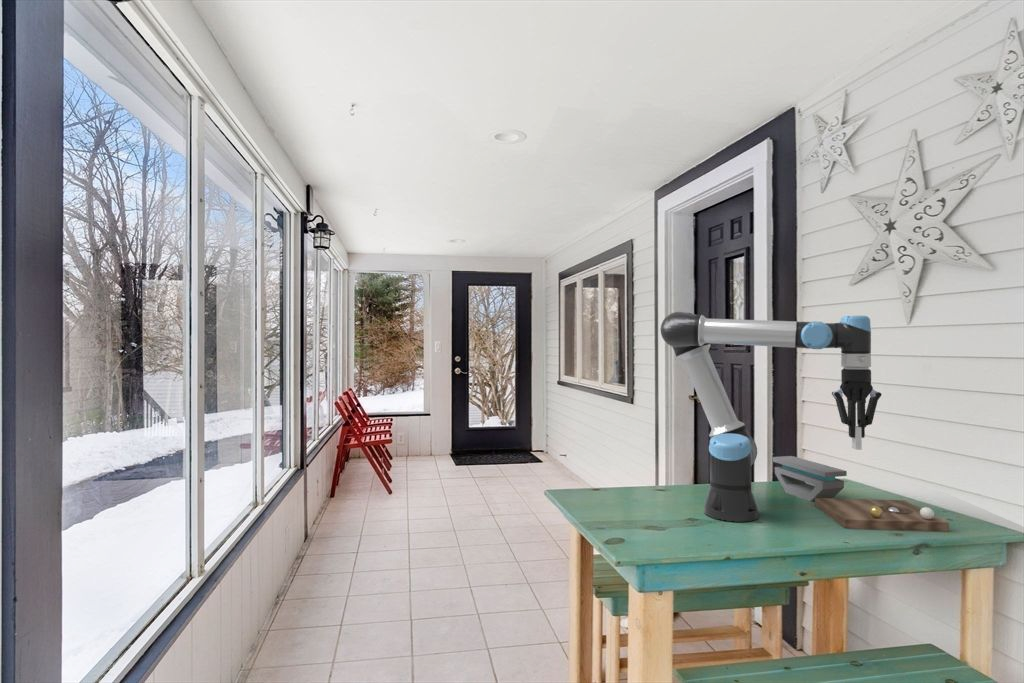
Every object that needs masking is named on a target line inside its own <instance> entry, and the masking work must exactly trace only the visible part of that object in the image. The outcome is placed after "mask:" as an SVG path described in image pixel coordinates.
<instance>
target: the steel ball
mask: <svg viewBox="0 0 1024 683" xmlns="http://www.w3.org/2000/svg"><path fill="white" fill-rule="evenodd" d="M888 510H889V511H893V512H900V511H899V510H898V509H897V508H894V507H891V508H889V509H888Z"/></svg>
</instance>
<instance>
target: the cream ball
mask: <svg viewBox="0 0 1024 683" xmlns="http://www.w3.org/2000/svg"><path fill="white" fill-rule="evenodd" d="M920 515H921V516H922V517H923V518H924V519H932V518H933V517H934V515H935V512H934V510H933V509H932V508H930V507H927V506H924V507H922V508H921V510H920Z"/></svg>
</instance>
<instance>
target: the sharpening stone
mask: <svg viewBox="0 0 1024 683" xmlns="http://www.w3.org/2000/svg"><path fill="white" fill-rule="evenodd" d="M772 462H773V463H775V464H780V465H782V466H775V467H774V475H775V476H776V477H777V479H778V482H779V483H780V485H781V487H782V488H783V490H784V492H785V493H786V494H789V495H791V496H794V497H797V498H800V499H802V500H804V499H805V500H804V501H807V500H808V502H810V501H811V502H815V498H835V496H837V495H838V494H840V492H841V491H843V489H844V488H845V480H843V479H840V478H836V477H847V473H848V472H847V470H844V469H841V468H840V469H839V468H836V467H834V466H830V465H826V464H822V463H820V462H816V461H812V460H808V459H804V458H801V457H798V456H793V455H785V456H773V457H772Z"/></svg>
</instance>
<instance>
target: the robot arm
mask: <svg viewBox="0 0 1024 683" xmlns="http://www.w3.org/2000/svg"><path fill="white" fill-rule="evenodd" d="M660 335H661V338H662V339H663V341H664V342H665V343H666V344H667V345H669V346H670V347H672V349H673V351H674V354H675V357H676V358H677V359H679V360H681V361H682V362H683V363H684V366H685V369H686V371H687V374H688V375H689V378H690V381H691V382H692V385H693V387H694V391H695V392H696V395H697V397H698V399H699V402H700V404H701V407H702V409H703V412H704V413H705V416H706V418H707V421H708V423H709V426H710V429H711V430H710V432H709V434H708V436H709V445H708V451H709V489H708V493H707V496H706V499H705V501H704V505H703V507H704V508H703V510H704V511H703V512H705V513H704V515H706V514H707V515H708V516H707V515H706V516H707V517H709V516H710V517H709V518H712V519H715V520H719V519H721V520H720V521H724V520H726V522H732V521H734V522H735V523H739V522H740V523H745V522H747V523H748V522H752V521H755V520H757V519H758V518H759V508H758V505H757V503H756V500H755V497H754V493H753V490H752V465H754V463H755V461H756V459H757V456H758V448H757V444H756V441H755V440H754V438H753V437H752V436H751V435H750V433H749V431H748V429H747V427H746V424H745V423H744V422H743V421H740V420H739V419H738V418H737V415H736V413H735V411H734V409H733V406H732V404H731V401H730V399H729V397H728V394H727V391H726V390H725V387H724V385H723V383H722V380H721V378H720V376H719V373H718V371H717V368H716V366H715V364H714V361H713V359H712V356H711V354H710V352H709V350H710V348H711V346H712V345H711V344H717V345H720V344H721V345H735V346H737V345H739V346H740V345H741V346H754V347H755V346H758V347H777V348H778V347H780V348H796V349H807V350H808V349H811V350H822V349H840V350H841V351H840V354H841V355H840V358H841V360H840V363H841V364H840V366H841V367H842V369H841V371H840V372H841V384H840V385H839V389H837V390H835V391H832V392H831V396H832V397H833V398H834V399H835V403H836V407H837V411H838V413H839V418H840V422H841V423H842V424H844V425H846V426H848V437H849V438H851V448H852V449H853V450H857V451H861V450H862V443H863V442H862V439H864V438H865V437H866V436H865V434H866V433H865V430H866V429H865V428H867V426H870V425H872V424H873V421H874V418H875V417H874V416H875V414H876V413H875V412H876V410H877V409H876V408H877V405H878V401H879V399H880V398H881V397H882V392H880V391H876V390H875V389H874V387H873V385H872V370H871V369H870V368H871V367H872V328H871V319H870V317H869V316H868V315H843V316H841V318H840V322H831V323H829V322H826V323H825V322H822V321H794V320H793V321H791V320H789V321H788V320H765V319H763V320H759V319H758V320H757V319H734V318H733V319H731V318H707V317H706V316H704V314H695V313H692V312H684V311H675V312H672V313H670V314H668V315H667V316H666V317H665V318H664V319H663V320H662V322H661V325H660ZM843 396H845V398H846V402H847V407H846V405H845V402H844V398H843ZM868 397H869V400H868V404H867V406H866V403H867V398H868ZM856 406H857V407H856Z"/></svg>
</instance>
